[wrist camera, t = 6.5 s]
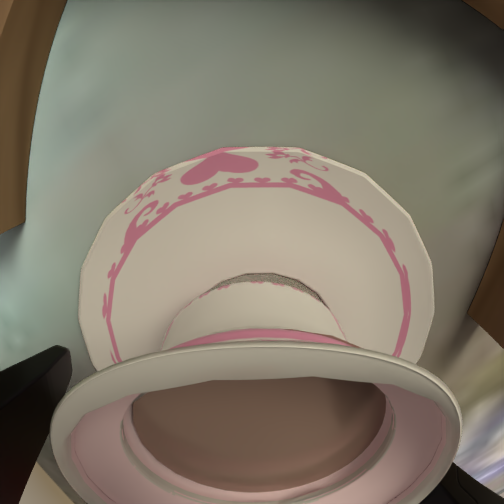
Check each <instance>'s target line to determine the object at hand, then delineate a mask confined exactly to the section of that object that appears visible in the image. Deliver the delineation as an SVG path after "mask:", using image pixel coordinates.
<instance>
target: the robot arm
mask: <svg viewBox="0 0 504 504" xmlns="http://www.w3.org/2000/svg"><path fill="white" fill-rule="evenodd" d="M71 376H72V364H71V355H70V351H69V349H67V348H65V347H62V346H59V345H55V346H53V347H51V348H49V349H47V350H45V351H42V352H40V353H38V354H36V355H34V356H32V357H30V358H28V359H25V360H23V361H21V362H19V363H17V364H15V365H13V366H11V367H9V368H6V369H4V370H2V371H0V504H19V501H20V499H21V496H22V494H23V491H24V489H25V486H26V484H27V481H28V479H29V477H30V474H31V472H32V470H33V467H34V465H35V463H36V460H37V458H38V456H39V454H40V452H41V449H42V447H43V445H44V443H45V441H46V439H47V436H48V434H49V432H50V423H51V419H52V416H53V413H54V410H55V409H56V407H57V405H58V403H59V402H60V401H61V399H62V398H63V397H64V395H65V392H66V390H67V387H68V384H69V382H70V379H71ZM419 504H504V498H502V497H501V496H499V495H498V494H496V493H495V492H493V491H492V490H490V489H488V488H487V487H485V486H484V485H482V484H481V483H479V482H478V481H477V480H475V479H474V478H472V477H471V476H470V475H468V474H467V473H466V472H465V471H463V470H462V469H461V468H460V467H458V466H456V464H455V463H453V462H452V464H451V466H450V468H449V469H448V471H447V473H446V474H445V475H444V477H443V478H442V480H441V481H440V482H439V483H438V485H437V486H436V487H435V488H434V489H433V490H432V491H431V492H430V493H429V494H428V495H427V496H426V497H425V498H424V499H423V500H422V501H421V502H420V503H419Z"/></svg>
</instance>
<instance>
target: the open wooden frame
mask: <svg viewBox="0 0 504 504" xmlns="http://www.w3.org/2000/svg"><path fill="white" fill-rule="evenodd" d="M462 1H464V2H465V3H467V4H468V5H470V6H471V7H473V8H474V9H476V10H477V11H478V12H480V13H481V14H483V15H484V16H485V17H487V18H488V19H489V20H491V21H492V22H493V23H495V24H496V25H497V26H499V27H500V28H501V29H502V30H504V0H462ZM66 2H67V0H0V234H2V233H4V232H6V231H8V230H10V229H12V228H14V227H16V226H18V225H20V224H22V223H24V222H25V209H26V187H27V174H28V163H29V153H30V145H31V138H32V131H33V124H34V118H35V112H36V107H37V102H38V97H39V92H40V88H41V83H42V79H43V75H44V71H45V67H46V63H47V59H48V56H49V52H50V49H51V45H52V42H53V39H54V36H55V33H56V30H57V27H58V24H59V21H60V18H61V15H62V12H63V10H64V7H65V4H66ZM467 314H468V315H469V316H470V317H472V318H473V319H474V320H475V321H476V322H477V323H478V324H479V325H480V326H481V327H482V328H483V329H484V330H485V331H486V332H487V333H488V334H489V335H490V336H491V337H492V338H493V339H494V340H495V341H496V342H497V343H498V344H499V345H500V346H501V347H502V348H504V220H503V223H502V227H501V230H500V233H499V236H498V239H497V242H496V245H495V247H494V250H493V253H492V256H491V258H490V261H489V264H488V266H487V269H486V271H485V274H484V276H483V279H482V281H481V283H480V286H479V288H478V290H477V293H476V295H475V297H474V299H473V302H472V304H471V306H470V308H469V310H468V312H467Z"/></svg>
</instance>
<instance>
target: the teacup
mask: <svg viewBox="0 0 504 504" xmlns="http://www.w3.org/2000/svg"><path fill="white" fill-rule="evenodd" d="M271 273H273V274H277V275H280V276H284V277H288V278H291V279H295V280H298V281H299V282H301V283H302V284H304V285H305V286H307V287H308V288H310V289H311V290H313V291H314V292H316V293H317V294H318V296H319V297H320V299H321V300H322V301H323V303H324V304H325V305H324V304H323V303H322V302H321V301H319V300H318V299H316V298H315V297H313V296H312V295H310V294H308V293H306V292H304V291H301V290H299V289H297V288H294V287H290V286H287V285H284V284H278V283H272V282H258V281H251V282H239V283H234V284H229V285H225V286H221V287H219V288H216V289H213V290H211V289H212V288H214V287H215V286H217V285H218V284H220V283H221V282H223V281H226V280H229V279H232V278H235V277H239V276H242V275H245V274H271ZM209 290H211V291H209ZM433 316H434V287H433V271H432V262H431V260H430V258H429V255H428V253H427V251H426V249H425V246H424V244H423V242H422V240H421V238H420V235H419V233H418V231H417V229H416V227H415V225H414V223H413V221H412V219H411V217H410V215H409V214H408V213H407V212H406V211H405V210H404V209H403V208H402V207H401V206H400V205H399V204H398V203H397V202H396V201H395V200H394V199H393V198H392V197H391V196H390V195H388V194H387V193H386V192H385V191H384V190H383V189H382V188H381V187H380V186H379V185H378V184H376V183H375V182H374V181H373V180H372V179H371V178H370V177H369V176H367V175H366V174H365V173H364V172H361V171H359V170H356V169H354V168H351V167H349V166H347V165H344V164H341V163H339V162H336V161H334V160H331V159H329V158H326V157H323V156H321V155H318V154H315V153H312V152H310V151H307V150H304V149H301V148H298V147H223V148H220V149H217V150H214V151H212V152H209V153H206V154H203V155H201V156H198V157H195V158H193V159H190V160H187V161H185V162H182V163H179V164H177V165H174V166H172V167H169V168H167V169H164V170H162V171H159V172H157V173H154V174H153V175H152V176H151V177H150V178H148V179H147V180H146V181H145V182H144V183H143V184H142V185H140V186H139V187H138V188H137V189H136V190H135V191H134V192H133V193H131V194H130V195H129V196H128V197H127V198H126V199H125V200H124V201H123V202H122V203H121V204H119V205H118V206H117V207H116V208H115V209H114V210H113V211H112V212H111V213H110V214H109V215H108V216H107V217H106V218H105V220H104V222H103V224H102V226H101V228H100V230H99V232H98V234H97V236H96V238H95V240H94V242H93V244H92V246H91V248H90V250H89V253H88V255H87V257H86V259H85V261H84V263H83V266H82V268H81V276H80V290H79V310H78V320H79V324H80V327H81V331H82V334H83V337H84V341H85V344H86V347H87V350H88V353H89V356H90V359H91V362H92V364H93V366H94V367H95V369H96V370H97V372H95V373H94V374H92V375H90V376H88V377H87V378H85V379H83V380H82V381H81V382H79V383H78V384H77V385H75V386H74V387H73V388H72V389H70V390H69V391H68V392H67V393H66V394H65V395H64V397H63V398H62V399H61V401H60V402H59V403H58V405H57V407H56V409H55V410H54V413H53V416H52V419H51V423H50V443H51V448H52V452H53V455H54V457H55V460H56V462H57V465H58V467H59V469H60V471H61V472H62V474H63V476H64V477H65V479H66V480H67V482H68V483H69V484H70V486H71V487H72V488H73V489H74V490H75V492H76V493H77V494H78V495H79V496H80V497H81V498H82V499H83V500H84V501H85V502H86V503H87V504H419V503H420V502H421V501H422V500H423V499H424V498H425V497H426V496H427V495H428V494H429V493H430V492H431V491H432V490H433V489H434V488H435V487H436V486H437V485H438V483H439V482H440V481H441V480H442V478H443V477H444V475H445V474H446V473H447V471H448V469H449V468H450V466H451V464H452V462H453V460H454V458H455V456H456V453H457V451H458V448H459V445H460V442H461V437H462V429H463V422H462V414H461V409H460V406H459V404H458V401H457V399H456V398H455V396H454V394H453V393H452V391H451V390H450V389H449V388H448V386H447V385H446V384H445V383H444V382H443V381H442V380H440V379H439V378H438V377H437V376H435V375H434V374H432V373H431V372H429V371H428V370H426V369H424V368H422V367H420V366H418V365H416V363H417V362H418V360H419V359H420V357H421V355H422V352H423V349H424V346H425V343H426V340H427V336H428V333H429V330H430V326H431V323H432V319H433Z"/></svg>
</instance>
